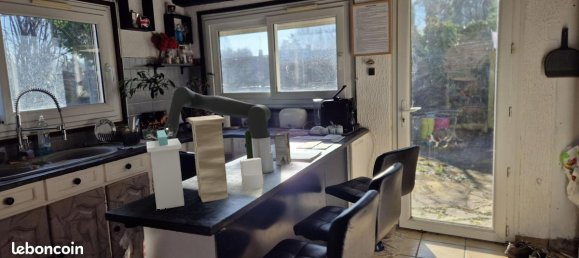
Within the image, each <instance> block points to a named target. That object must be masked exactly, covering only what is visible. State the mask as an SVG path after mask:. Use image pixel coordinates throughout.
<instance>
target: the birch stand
mask: <svg viewBox="0 0 579 258" xmlns="http://www.w3.org/2000/svg"><path fill="white" fill-rule="evenodd" d="M187 121H188V123H189V124H191V129H192V138H193V139H192V140H193V149H194V159H195V160H194V161H195V169H196V170H195V171H196V180H197V190H198V196H199V198H200V199H201V202H202V203H206V202H207V203H208V202H212V201H219V200H225V199H229V192H228V191H229V190H228V179H227V172H226V171H227V170H226V169H227V168H226V158H225V147H224V146H225V145H224V135H223V125H222V124H223V123H226V117H224V116H223V117H222V115H219V114H216V115H213V114H212V115H205V116H195V117H193V116H192V117H187Z"/></svg>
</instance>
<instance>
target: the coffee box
mask: <svg viewBox="0 0 579 258" xmlns="http://www.w3.org/2000/svg"><path fill="white" fill-rule="evenodd" d="M273 139H274V153H275V164H276V166H286V165H287V166H288V165H289V164H290V163H291V161H292V159H291V157H292V156H291V145H290V133H289V132H278V133H275V134H274V136H273Z"/></svg>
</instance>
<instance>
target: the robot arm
mask: <svg viewBox="0 0 579 258" xmlns="http://www.w3.org/2000/svg"><path fill="white" fill-rule="evenodd" d="M184 107H185V108H190V109H191V108H192V109H198V110H199V109H200V110H204V111H207V112H210V113H213V114H216V115H219V116H227V117H241V118H248V122H249V127H248V129H249V130H250V133H251V137H252V149H253V158H261V165H262V174H265V173H266V174H267V173H271V172H274V171H275V166H274V156H273V155H274V153H273V151H272V143H271V132H270V130H268V125H267V124H268V123H267V122H268V121H269V120H270V119H271V116H272V111H271V110H270V108H269V107H268V106H267V105H265V104H259V103H258V104H257V103H249V102H244V101H241V100H237V99H234V98H230V97H227V96H222V95H221V96H220V95H203V94H201V93H197V92H195V91H192V90H191V89H189V88H188V87H186V86H178V87H177V88H176V89H175V91H174V92H173V95H172V98H171V103H170V107H169V111H168V114H167V119H166V121H165V124H164V127H163V129H162V130H164V131H165V133H166V135H167V139H176V137H177V134H178V133H179V132H178V131H179V127H180V118H181V113H182V110H183V108H184ZM160 130H161V129H160ZM160 130H159V129H158V130H154V129H151V126H150V125H149V126H148V127H146V130H145V129H144V130H142V136H143V139H144V141H148V139H150V140H151V141H158V138H157V131H160ZM149 155H150V157H151V154H150V153H149Z"/></svg>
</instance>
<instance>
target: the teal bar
mask: <svg viewBox="0 0 579 258" xmlns="http://www.w3.org/2000/svg"><path fill="white" fill-rule="evenodd" d="M156 131H157V138H158V142H159V145H160V146H161V145H168V139H167V135H166V133H165V131H164V130H163V129H162V130H161V129H160V131H159V130H156Z"/></svg>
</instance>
